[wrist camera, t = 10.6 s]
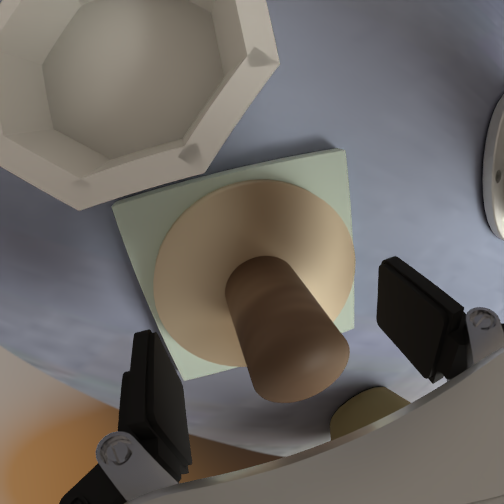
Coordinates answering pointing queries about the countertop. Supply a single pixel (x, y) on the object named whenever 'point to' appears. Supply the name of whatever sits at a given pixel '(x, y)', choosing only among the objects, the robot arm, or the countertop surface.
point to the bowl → (125, 90)
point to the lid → (259, 285)
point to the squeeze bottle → (365, 410)
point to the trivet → (187, 192)
